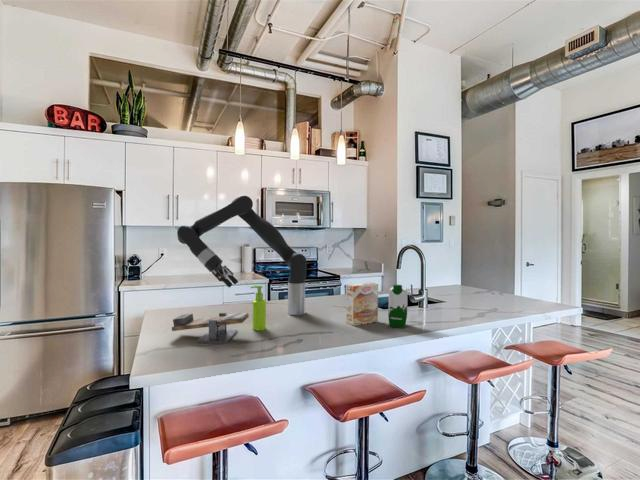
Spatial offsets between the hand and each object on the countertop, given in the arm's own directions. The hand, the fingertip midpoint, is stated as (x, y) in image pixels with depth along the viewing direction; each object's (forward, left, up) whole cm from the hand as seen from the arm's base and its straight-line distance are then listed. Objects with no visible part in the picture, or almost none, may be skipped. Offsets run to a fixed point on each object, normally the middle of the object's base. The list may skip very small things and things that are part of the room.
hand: (234, 284), depth 162 cm
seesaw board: (+5, +14, -15) cm, 21 cm away
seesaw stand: (+3, +14, -20) cm, 25 cm away
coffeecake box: (-60, -15, -21) cm, 66 cm away
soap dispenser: (-11, 0, -21) cm, 24 cm away
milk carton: (-77, -11, -21) cm, 81 cm away
